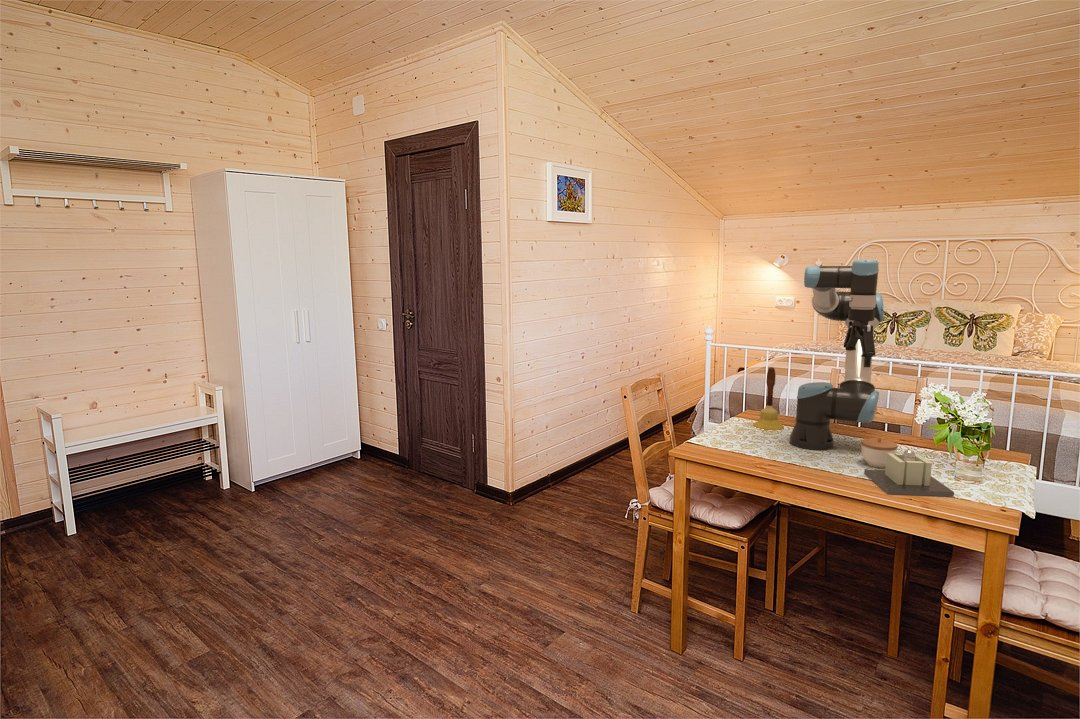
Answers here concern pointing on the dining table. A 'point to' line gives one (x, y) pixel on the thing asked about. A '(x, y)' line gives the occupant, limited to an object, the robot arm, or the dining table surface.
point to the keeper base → (895, 489)
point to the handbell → (769, 407)
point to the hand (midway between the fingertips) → (856, 373)
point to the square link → (908, 470)
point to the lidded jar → (877, 451)
